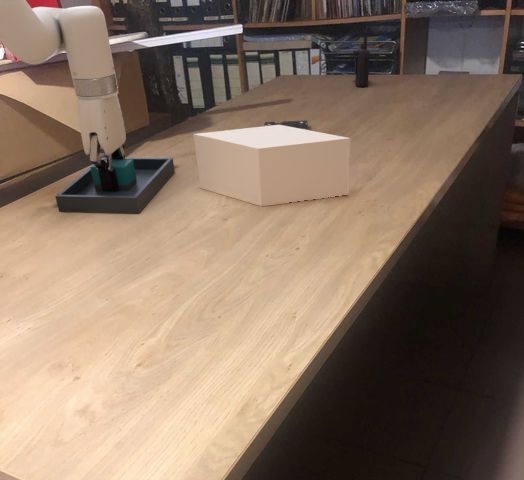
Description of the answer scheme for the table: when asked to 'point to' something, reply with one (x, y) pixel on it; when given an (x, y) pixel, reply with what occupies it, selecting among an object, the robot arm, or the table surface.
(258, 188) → the white rectangular box
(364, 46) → the two-way radio
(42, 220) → the table surface
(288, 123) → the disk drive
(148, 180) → the tray
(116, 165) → the eraser
